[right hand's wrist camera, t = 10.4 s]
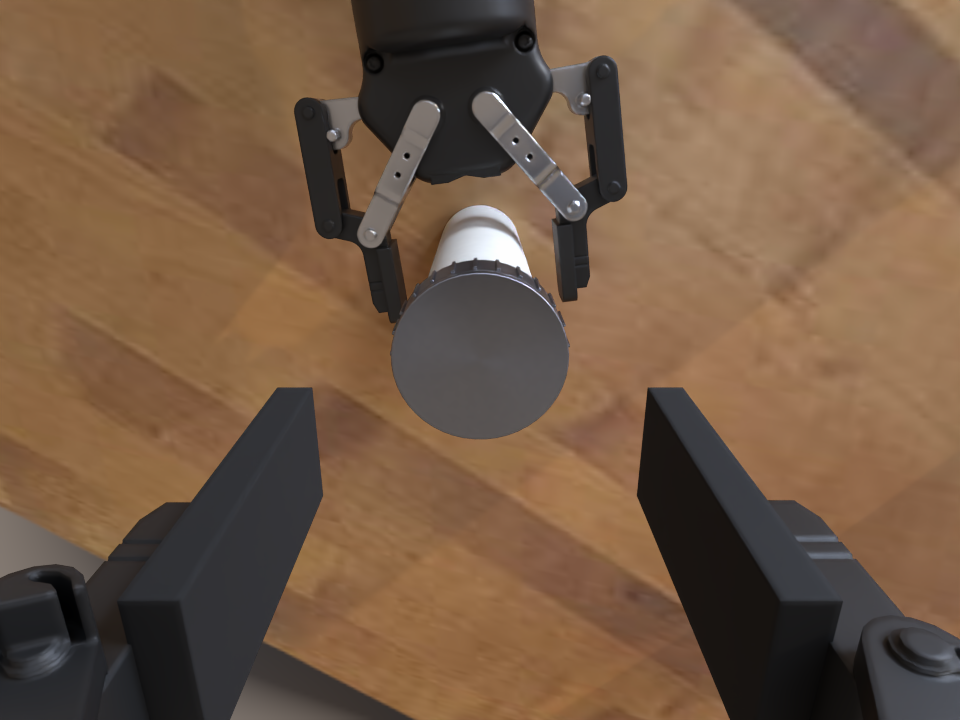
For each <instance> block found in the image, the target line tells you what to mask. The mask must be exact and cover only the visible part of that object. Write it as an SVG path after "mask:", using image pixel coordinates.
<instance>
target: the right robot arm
mask: <svg viewBox="0 0 960 720" xmlns="http://www.w3.org/2000/svg"><path fill="white" fill-rule="evenodd" d="M322 497H323V490H322V480H321V470H320V460H319V450H318V440H317V430H316V420H315V410H314V401H313V391H312V388H277V389H276V390H275V391H274V393H273V394H272V395H271V397H270V398H269V399H268V401H267V402H266V403H265V405H264V406H263V407H262V409H261V410H260V411H259V413H258V414H257V415H256V417H255V418H254V419H253V421H252V422H251V423H250V425H249V426H248V427H247V429H246V430H245V431H244V433H243V434H242V435H241V437H240V438H239V439H238V441H237V442H236V443H235V445H234V446H233V447H232V449H231V450H230V451H229V453H228V454H227V455H226V457H225V458H224V459H223V461H222V462H221V463H220V465H219V466H218V467H217V468H216V470H215V471H214V472H213V474H212V475H211V476H210V478H209V479H208V480H207V482H206V483H205V484H204V486H203V487H202V488H201V490H200V491H199V492H198V494H197V495H196V496H195V498H194V499H193V500H192V502H166V503H165V504H163V505H162V506H160V507H159V508H157V509H156V510H154V511H152V512H151V513H149V514H148V515H146V516H145V517H143V518H142V519H140V520H139V521H138V522H137V524H136V525H135V526H134V527H133V528H132V530H131V531H130V532H129V533H128V534H127V535H126V537H125V538H124V539H123V543H122V544H119V545H118V546H117V547H116V548H115V550H114V551H113V552H112V553H111V554H110V556H109V557H108V561H104V563H103V564H102V565H101V566H100V567H99V569H98V570H97V571H96V572H95V573H94V574H93V576H92V577H91V578H90V579H89V580H88V582H87V583H86V584H85V580H84V576H83V574H81V573H80V572H79V571H77V570H76V569H75V568H74V567H69V566H63V565H57V564H54V565H44V566H35V567H31V568H27V569H24V570H21V571H17V572H14V573H10V574H8V575H6V576H4V577H2V578H0V720H230V718H231V716H232V714H233V711H234V709H235V706H236V704H237V701H238V699H239V697H240V694H241V692H242V689H243V687H244V685H245V682H246V680H247V677H248V675H249V673H250V670H251V668H252V665H253V663H254V661H255V658H256V656H257V653H258V651H259V648H260V646H261V644H262V641H263V639H264V637H265V634H266V632H267V629H268V627H269V625H270V622H271V620H272V617H273V615H274V613H275V610H276V608H277V605H278V603H279V600H280V598H281V596H282V593H283V591H284V588H285V586H286V584H287V581H288V579H289V576H290V574H291V572H292V569H293V567H294V564H295V562H296V560H297V557H298V555H299V552H300V550H301V548H302V545H303V543H304V540H305V538H306V536H307V533H308V531H309V528H310V526H311V524H312V521H313V519H314V516H315V514H316V511H317V509H318V507H319V504H320V502H321V499H322ZM637 497H638V499H639V502H640V504H641V507H642V509H643V511H644V514H645V516H646V519H647V521H648V524H649V526H650V528H651V531H652V533H653V536H654V538H655V540H656V543H657V545H658V548H659V550H660V552H661V555H662V557H663V560H664V562H665V564H666V567H667V569H668V572H669V574H670V576H671V579H672V581H673V584H674V586H675V588H676V591H677V593H678V596H679V598H680V600H681V603H682V605H683V608H684V610H685V613H686V615H687V617H688V620H689V622H690V625H691V627H692V629H693V632H694V634H695V637H696V639H697V641H698V644H699V646H700V649H701V651H702V653H703V656H704V658H705V661H706V663H707V665H708V668H709V670H710V673H711V675H712V677H713V680H714V682H715V685H716V687H717V689H718V692H719V694H720V697H721V699H722V701H723V704H724V706H725V709H726V711H727V714H728V716H729V718H730V720H960V640H959V639H958V638H957V637H955V636H953V635H951V634H949V633H948V632H946V631H944V630H942V629H940V628H938V627H937V626H935V625H932V624H929V623H926V622H923V621H920V620H917V619H914V618H910V617H905V616H904V615H903V614H902V612H901V611H900V610H899V609H898V608H897V607H896V605H895V604H894V603H893V602H892V601H891V600H890V598H889V597H888V596H887V595H886V594H885V593H884V591H883V590H882V589H881V588H880V587H879V585H878V584H877V583H876V582H875V581H874V580H873V578H872V577H871V576H870V575H869V574H868V573H867V571H866V570H865V569H864V568H863V567H862V566H861V564H860V563H859V562H858V561H857V560H856V559H853V558H852V554H851V553H850V551H849V550H848V549H847V548H846V547H845V546H844V544H843V543H842V542H838V537H837V536H836V535H835V534H834V533H833V532H832V530H831V529H830V528H829V527H828V526H827V525H826V523H825V522H824V521H823V520H822V519H821V518H820V517H819V516H817V515H816V514H814V513H813V512H811V511H810V510H808V509H807V508H805V507H803V506H802V505H800V504H799V503H797V502H796V501H794V500H767V499H766V498H765V496H764V495H763V494H762V492H761V491H760V490H759V488H758V487H757V486H756V484H755V483H754V482H753V480H752V479H751V478H750V476H749V475H748V474H747V472H746V471H745V470H744V468H743V467H742V466H741V465H740V463H739V462H738V461H737V459H736V458H735V457H734V455H733V454H732V453H731V451H730V450H729V449H728V447H727V446H726V445H725V443H724V442H723V441H722V439H721V438H720V437H719V435H718V434H717V433H716V431H715V430H714V429H713V427H712V426H711V425H710V423H709V422H708V421H707V419H706V418H705V417H704V415H703V414H702V413H701V411H700V410H699V409H698V407H697V406H696V405H695V403H694V402H693V401H692V399H691V398H690V397H689V395H688V394H687V393H686V391H685V390H684V389H683V388H648V391H647V400H646V410H645V420H644V430H643V440H642V450H641V460H640V470H639V480H638V490H637Z"/></svg>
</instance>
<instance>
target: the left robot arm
mask: <svg viewBox="0 0 960 720" xmlns="http://www.w3.org/2000/svg"><path fill="white" fill-rule="evenodd" d="M351 4H352V10H353V15H354V21H355V26H356V32H357V38H358V43H359V49H360V54H361V60H362V66H363V81H362V86H361V90H360V93H359V96H358V97H352V98H343V99H333V100H323V99H316V98H302V99H300V100H299V101H298V102H297V103H296V105H295V108H294V114H295V120H296V125H297V130H298V136H299V141H300V147H301V152H302V157H303V163H304V168H305V174H306V179H307V184H308V190H309V195H310V200H311V206H312V211H313V217H314V222H315V227H316V230H317V232H318V233H319V235H321V236H322V237H324V238H326V239H333V238H337V239H342V240H347V241H351V242H353V243H355V244H357V245H358V246H359V247H360V249H361V250H362V252H363V255H364V260H365V266H366V271H367V276H368V281H369V286H370V291H371V296H372V301H373V304H374V306H375V307H376V309H377V310H378V312H379V313H382V312H388V316H389V320H390V322H391V323H396V322H397V319H400V317H401V315H400V314H399V313H400V311H401V308H402V306H403V304H404V301H405V300H407V295H406V290H405V284H404V279H403V273H402V267H401V262H400V256H399V250H398V245H397V239H391V234H390V230H391V228H392V226H393V224H394V222H395V220H396V218H397V216H398V214H399V212H400V210H401V207H402V205H403V203H404V201H405V200H406V198H407V196H408V194H409V192H410V190H411V188H412V186H413V184H414V182H415V180H416V178H418V179H420V180H422V181H425V182H429V183H431V185H434V184H442V183H449V182H451V181H453V180H456V179H458V178H460V177H463V176H466V175H467V176H475V177H482V178H486V177H493V176H500V175H501V173H503V172H505V171H507V170H508V169H510V168H511V167H512V166H513V165H514V164H515V163H517V164H518V166H519V167H520V168H521V169H522V170H523V171H524V172H525V174H526V175H527V176H528V177H529V178H530V179H531V180H532V181H533V183H534V184H535V185H536V186H537V187H538V188H539V189H540V190H541V192H542V193H543V194H544V195H545V196H546V197H547V198H548V200H549V201H550V202H551V203H552V204H553V205H554V206H555V211H556V218H555V219H552V228H553V239H554V250H555V261H556V272H557V283H558V291H559V295H560V298H561V300H562V302H568V301H576V300H577V288H583V287H587V284H588V281H589V278H590V270H589V257H588V243H587V229H586V223H587V219H588V217H589V215H590V214H591V213H592V212H593V211H594V210H596V209H597V208H599V207H601V206H603V205H605V204H607V203H609V202H615V201H618V200H620V199H622V198H623V197H624V195H625V194H626V191H627V178H626V166H625V154H624V142H623V130H622V118H621V106H620V94H619V82H618V70H617V65H616V63H615V61H614V60H613V59H612V58H611V57H609V56H599V57H595V58H593V59H591V60H590V61H588V62H587V63H581V64H576V65H570V66H565V67H560V68H554V69H549V67H548V66H547V64H546V63H545V61H544V59H543V57H542V55H541V53H540V50H539V46H538V41H537V31H536V20H535V9H534V0H351ZM553 92H556V93H559V94H561V95H562V96H563V97H564V98H565V99H566V102H567V105H568V108H569V110H570V111H571V112H572V113H574V114H576V115H584V120H585V130H586V140H587V150H588V159H589V169H590V177H589V178H587V179H585V180H584V181H582V182H580V183H578V184H576V185H573V184H572V183H571V182H570V181H569V180H568V178H567V177H566V176H565V175H564V174H563V173H562V171H561V170H560V169H559V168H558V166H557V165H556V164H555V163H554V162H553V160H552V159H551V158H550V157H549V156H548V155H547V153H546V152H545V151H544V150H543V149H542V148H541V146H540V145H539V144H538V143H537V142H536V141H535V139H534V138H533V137H532V136H531V134H532V132H533V130H534V128H535V127H536V125H537V123H538V121H539V119H540V117H541V115H542V114H543V112H544V110H545V108H546V106H547V104H548V102H549V100H550V99H551V96H552V93H553ZM360 120H362V121H363V123H364V124H365V125H366V126H367V127H368V128H369V129H370V130H371V131H372V133H373V134H374V135H375V136H376V137H377V138H378V139H379V140H380V141H381V142H382V143H383V144H384V145H385V146H386V147H387V148H388V149H389V150H390V151H391V153H392V155H391V157H390V159H389V161H388V163H387V165H386V168H385V170H384V172H383V174H382V176H381V178H380V180H379V183H378V185H377V187H376V189H375V192H374V196H373V198H372V200H371V202H370V205H369V207H368V209H367V211H366V213H365V212H360V211H356V210H351V209H350V203H349V197H348V191H347V185H346V178H345V172H344V166H343V160H342V154H341V149H343V148H346V147H347V146H348V145H349V144H350V143H351V141H352V131H353V127H354V125H355V124H356V123H357V122H358V121H360Z"/></svg>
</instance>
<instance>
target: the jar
mask: <svg viewBox="0 0 960 720" xmlns="http://www.w3.org/2000/svg"><path fill="white" fill-rule="evenodd" d="M474 258H477V260H491V261H496V259H499V262H501V263H505V264H508V265H511V266H513V267H517V266H519V267H520V269H521V271H523V272H525V273H527V274H528V275H529V276H531V273H530V270H529V267H528V264H527V261H526V258H525V255H524V252H523V249H522V245H521V242H520V239H519V236H518V233H517V231H516V228H515V226H514V224H513V223H512V221H511V220H510V219H509V218H508V217H507V216H506V215H505V214H504V213H503V212H501V211H500V210H498V209H496V208H493V207H490V206H485V205H475V206H470V207H467V208H464V209H462V210H460V211H459V212H457V213H456V214H455V215H454V216H453V217H452V218H451V219H450V220H449V221H448V223H447V224H446V226H445V228H444V230H443V233H442V236H441V239H440V242H439V245H438V248H437V252H436V255H435V258H434V261H433V264H432V267H431V270H430V273H429V276H431V274H432V271H434V270H436V272H437V271H439V270H440V269H442V268H444V267H447V266H449V265H452V262H454V261H455V262H456V263H459V262H462V261H469V260H474ZM429 276H428V277H429ZM531 277H532V276H531Z"/></svg>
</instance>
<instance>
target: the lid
mask: <svg viewBox="0 0 960 720" xmlns="http://www.w3.org/2000/svg"><path fill="white" fill-rule="evenodd" d="M399 314H400V315H401V317H400V319H397V322H396V324H395V327H394V329H393V332H392V335H394V337H393V341H392V348H391V352H390V356H391V365H392V370H393V375H394V379H395V382H396V385H397V387H398V389H399V391H400V393H401V395H402V397H403V398H404V400H405V401H406V403H407V404H408V406H409V407H410V408H411V409H412V410H413V411H414V412H415V413H416V414H417V415H418V416H419V417H420V418H421V419H423V420H424V421H425V422H427V423H428V424H430V425H431V426H433V427H435V428H436V429H438V430H440V431H442V432H445V433H448V434H450V435H453V436H458V437H462V438H469V439H491V438H498V437H502V436H507V435H509V434H512V433H515V432H518V431H520V430H522V429H523V428H525V427H527V426H529V425H530V424H532V423H533V422H535V421H536V420H537V419H539V418H540V417H541V416H542V415H543V414H544V413H545V412H546V411H547V410H548V409H549V408H550V407H551V405H552V404H553V403H554V401H555V400H556V398H557V397H558V395H559V393H560V391H561V389H562V387H563V384H564V381H565V379H566V375H567V370H568V364H569V349H568V347H570V344H569V342H568V339H567V337H566V333H565V330H564V328H563V327H565V326H566V325H565V322H564V320H563V318H562V315H561V313H560V311H558V312H557V310H556V305H555V302H554V300H553V297H552V295H551V293H549V294H547V292H546V291H545V290H544V288H543V287H542V286H541V285H540V284H539V281H538V279H537V278H536V277H535V278H534V279H533V278H532V277H531V276H529V275H528V274H527V273H525V272H523V271H521V269H520V267H519V266H517V267H513V266H511V265H508V264H505V263H501V262H499V259H496V261H491V260H477V258H474V260H469V261H462V262H459V263H456V262H455V261H454V262H452V265H449V266H447V267H444V268H442V269H440V270H439V271H437V272H436V270H434V271H432V274H431V276H429V277H428V278H427V279H425V280H424V281H423V282H422V283H421V284H419V283H418V284H417V285H416V287H415V289H414V292H413V294H412V295H411V296H410V298H409V300H408V301H407V300H405V301H404V304H403V306H402V308H401V311H400V313H399Z"/></svg>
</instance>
